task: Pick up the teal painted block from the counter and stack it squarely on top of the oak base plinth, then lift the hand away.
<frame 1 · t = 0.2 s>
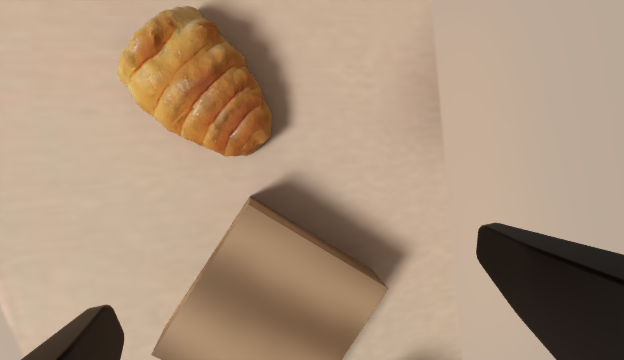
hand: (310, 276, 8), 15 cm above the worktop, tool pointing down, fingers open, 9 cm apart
pastry: (204, 86, 22), on the worktop
oak base: (273, 297, 24), on the worktop
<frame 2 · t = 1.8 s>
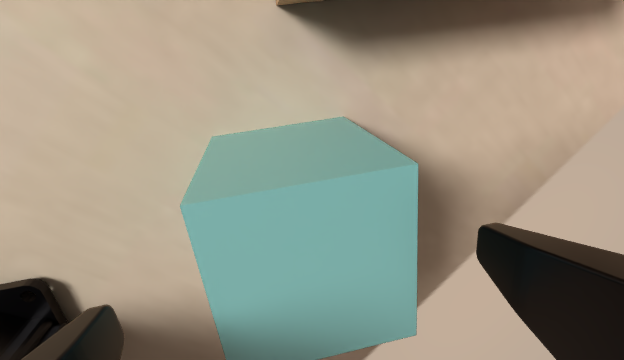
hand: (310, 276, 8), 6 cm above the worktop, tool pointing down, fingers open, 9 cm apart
teal block: (288, 186, 13), on the worktop
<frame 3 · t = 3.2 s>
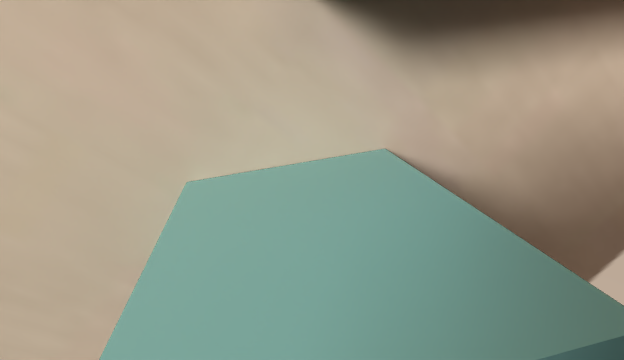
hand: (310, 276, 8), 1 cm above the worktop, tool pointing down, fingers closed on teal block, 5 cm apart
teal block: (302, 249, 9), on the worktop, touching gripper
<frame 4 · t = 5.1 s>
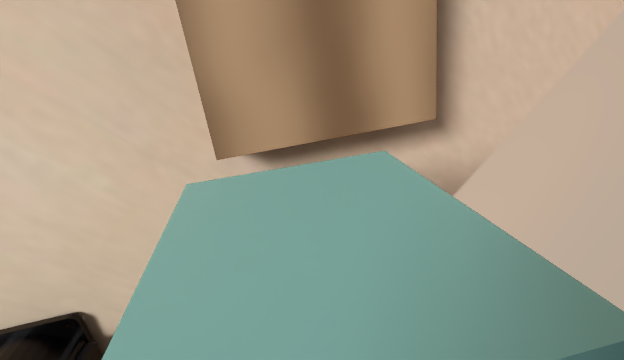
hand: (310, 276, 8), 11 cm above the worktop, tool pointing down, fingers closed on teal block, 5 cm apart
teal block: (302, 251, 9), point 10 cm above the worktop, touching gripper
oak base: (304, 20, 16), on the worktop
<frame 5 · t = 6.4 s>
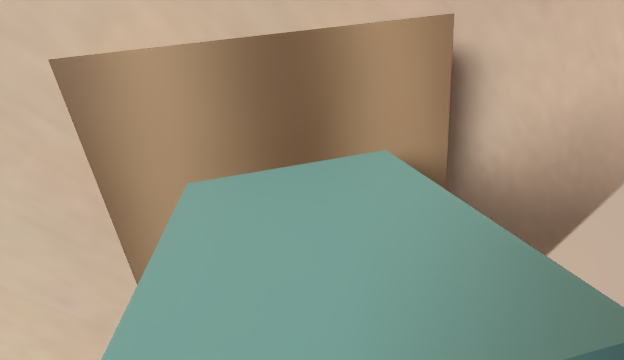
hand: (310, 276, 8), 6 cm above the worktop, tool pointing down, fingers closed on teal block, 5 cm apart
teal block: (303, 250, 9), point 5 cm above the worktop, touching gripper
oak base: (285, 181, 14), on the worktop
when the fingers open (5 cm above the worktop, at t = 7.3 s): teal block drops 1 cm, resting on oak base.
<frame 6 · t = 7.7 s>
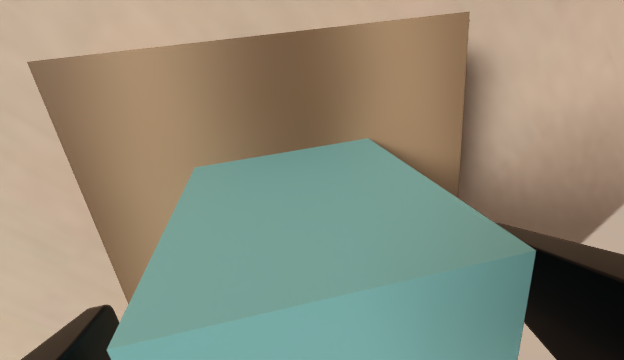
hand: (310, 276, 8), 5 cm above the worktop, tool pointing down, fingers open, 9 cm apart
teal block: (296, 228, 10), point 3 cm above the worktop, touching oak base
oak base: (286, 189, 13), on the worktop
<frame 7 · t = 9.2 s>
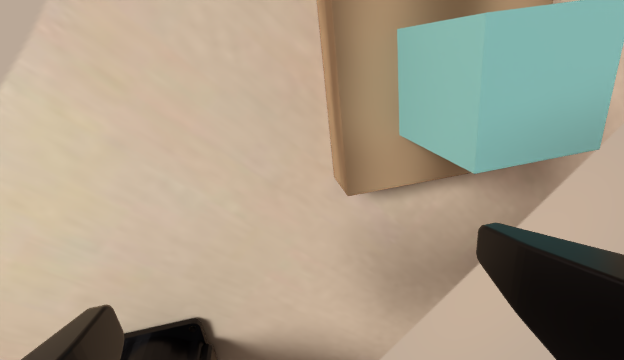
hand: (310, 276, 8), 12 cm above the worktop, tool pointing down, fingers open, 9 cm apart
teal block: (445, 77, 16), point 3 cm above the worktop, touching oak base
oak base: (417, 73, 19), on the worktop
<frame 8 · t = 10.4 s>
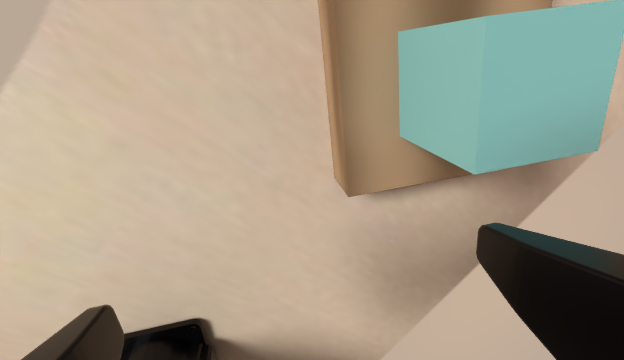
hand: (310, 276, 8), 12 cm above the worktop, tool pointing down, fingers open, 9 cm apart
teal block: (445, 80, 16), point 3 cm above the worktop, touching oak base
oak base: (417, 75, 19), on the worktop
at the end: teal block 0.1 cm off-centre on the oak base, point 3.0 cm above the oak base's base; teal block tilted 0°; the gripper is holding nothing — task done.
